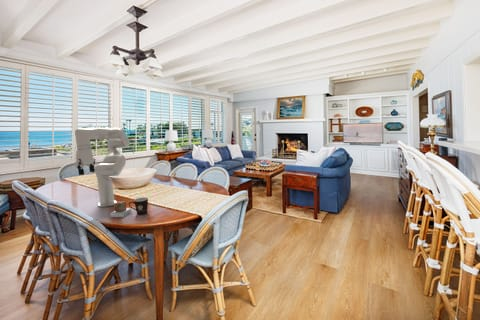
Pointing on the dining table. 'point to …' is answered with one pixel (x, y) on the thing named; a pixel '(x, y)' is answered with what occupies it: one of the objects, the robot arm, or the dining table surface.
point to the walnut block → (120, 206)
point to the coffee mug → (141, 205)
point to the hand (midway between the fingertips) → (87, 173)
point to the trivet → (120, 213)
